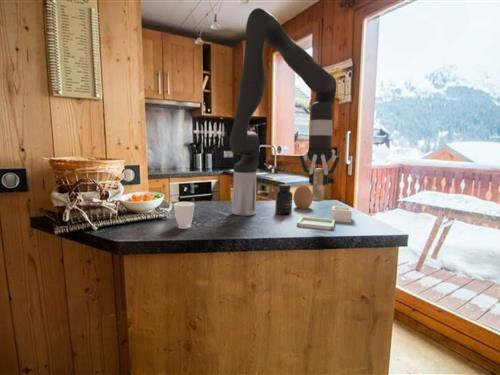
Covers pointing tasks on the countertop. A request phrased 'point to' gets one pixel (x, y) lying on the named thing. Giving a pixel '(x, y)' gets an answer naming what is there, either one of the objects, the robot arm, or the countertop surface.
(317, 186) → the dowel
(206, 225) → the countertop surface
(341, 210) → the holder cup
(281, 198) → the supplement bottle
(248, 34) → the robot arm
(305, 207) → the egg
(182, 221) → the cup
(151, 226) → the countertop surface
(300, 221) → the tray
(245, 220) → the countertop surface
